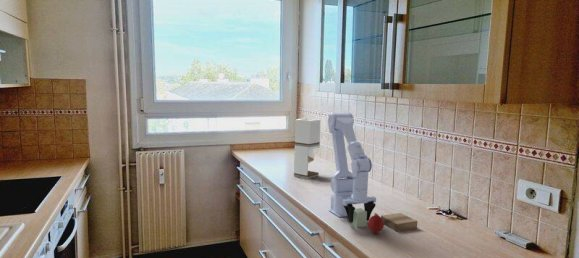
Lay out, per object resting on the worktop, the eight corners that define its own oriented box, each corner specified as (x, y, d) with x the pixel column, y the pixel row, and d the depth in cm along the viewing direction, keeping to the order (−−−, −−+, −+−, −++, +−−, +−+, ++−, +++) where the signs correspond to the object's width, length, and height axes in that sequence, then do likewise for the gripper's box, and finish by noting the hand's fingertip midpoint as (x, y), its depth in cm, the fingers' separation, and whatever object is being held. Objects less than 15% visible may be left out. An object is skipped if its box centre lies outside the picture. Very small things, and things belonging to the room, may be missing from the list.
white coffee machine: (308, 179, 224) (310, 120, 221) (293, 176, 231) (295, 119, 227) (318, 175, 234) (320, 119, 230) (304, 173, 240) (306, 118, 236)
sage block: (350, 223, 152) (351, 209, 151) (360, 222, 154) (360, 208, 153) (356, 227, 148) (357, 212, 147) (366, 226, 150) (366, 211, 149)
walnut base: (380, 222, 154) (380, 215, 154) (400, 220, 158) (400, 213, 158) (396, 231, 145) (396, 224, 144) (417, 228, 149) (417, 221, 148)
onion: (381, 230, 145) (382, 210, 144) (385, 236, 139) (386, 215, 139) (366, 230, 145) (367, 210, 144) (369, 236, 139) (370, 215, 138)
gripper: (349, 192, 143) (348, 226, 144) (381, 188, 148) (379, 222, 150) (340, 187, 149) (339, 220, 151) (371, 184, 155) (369, 216, 156)
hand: (358, 221), depth 151 cm, fingers open, 7 cm apart
